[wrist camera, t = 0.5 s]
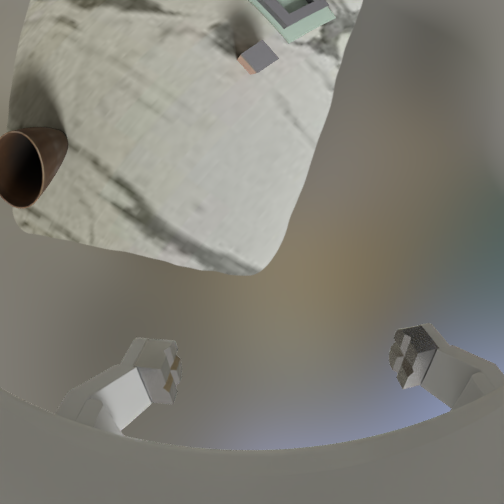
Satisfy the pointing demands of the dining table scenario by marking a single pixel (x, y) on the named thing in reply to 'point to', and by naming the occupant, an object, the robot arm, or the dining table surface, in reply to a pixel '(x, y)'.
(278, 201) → the dining table surface
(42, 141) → the plant pot
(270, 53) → the plug
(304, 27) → the board
